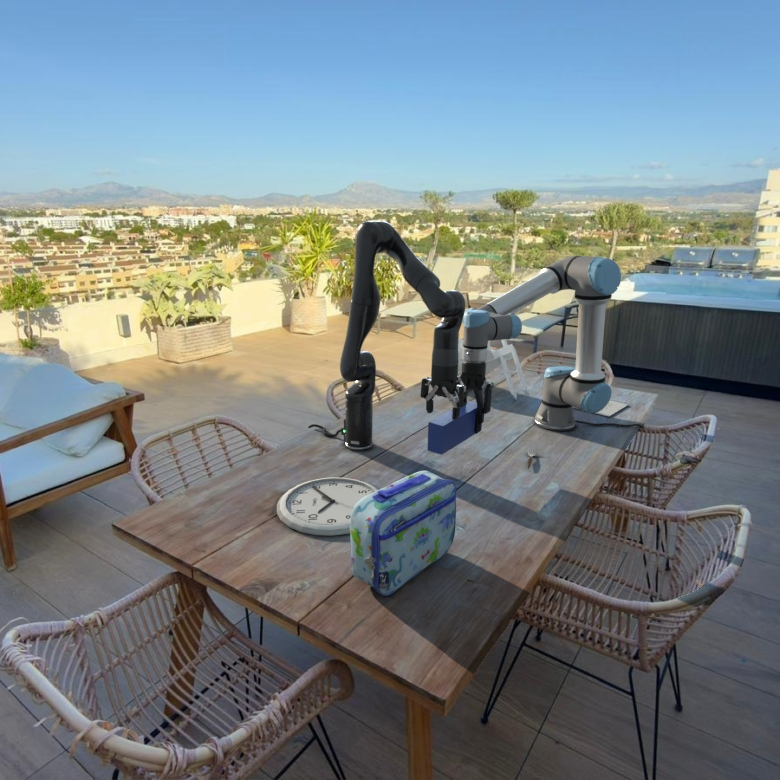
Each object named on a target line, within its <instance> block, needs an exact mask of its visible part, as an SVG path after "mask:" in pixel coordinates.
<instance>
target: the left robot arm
mask: <svg viewBox="0 0 780 780" xmlns="http://www.w3.org/2000/svg"><path fill="white" fill-rule="evenodd" d="M354 245H355V247H354V270H353V271H354V272H353V281H352V289H351V290H352V291H351V295H350V304H349V311H348V312H349V313H348V320H347V327H346V333H345V339H344V342H343V348H342V352H341V356H340V361H339V371H340V375H341V378H342V379H343V380H344V381H346V382H349V383H351V382H353V383H352V385H351V386H349V387H348V388H347V389H346V390H345V392H344V393H345V394H344V395H345V396H344V397H345V401H344V402H345V417H344V418H343V427H341V428H340V429H338V430H336V432H335V433H328V432H327V429H326V428H325V427H324V426H322V425H320V424H315V423H313V424H309V425H308V426H307V429H311V428H313V427H314V428H319V429H321V430H322V435H323V436H326V437H330V438H333V437H334V438H335V437H337V436H339V434H340V433H341V436H343V445H345V448H347V449H348V450H350V451H356V452H359V451H367V450H370V449H372V447H373V444H374V443H373V417H374V415H373V413H374V409H373V408H374V407H373V406H374V402H373V401H374V399H373V398H374V393H375V389H376V376H377V366H376V365H377V363H376V359H375V357H374V355H373V354H372V353H371V352H370V351H367V350H362V348H363V344H364V342H365V340H366V338H367V337H368V335H369V334H370V332H371V331H372V329H373V328H374V326H375V324H376V322H377V320H378V318H379V314H380V307H381V300H382V299H381V292H380V291H381V290H380V288H379V285H378V283H377V280H376V276H375V262H376V256H377V254H385V255H387V256H389V257H390V258H392V259H393V260H394V261H395V262H396V264H397V265H398V266H399V271H400V273H401V275H402V277H403V279H404V280H405V282H406V283H407V284H408V285H409V286H410V287H411V288H412V289H413V290H414V291H415V292H416V293H417V294H418V295H419V297H421V300H422V302H423V304H424V305H425V306H426V308H427V310H428V311H429V312H430V313H431V314H432V315H434V316H435V317H437V318H439V319H441V321H440V323H439V324H437V326H435V328H434V330H433V339H432V340H433V341H432V351H431V369H430V370H431V371H430V377H431V378H430V377H429V376H427V377H424V378H422V379H421V387H420V398H421V399H424V400H425V410H426V412H427V414H432V413H433V412H434V398H435V397H436V396H437V397H443V398H446V399H447V400H448V401H449V402H451V405H452V410H453V412H452V419H453V420H456V419H457V418H458V417H459V416H460V407H463V406H464V405H466V404H467V402H468V396H467V386H466V385H464V384H463V385H458V384H457V376H458V362H459V360H458V358H459V353H458V340H459V337H460V329H461V327H462V325H463V322H462V320H463V317H464V313H465V311H466V300H465V296H464V295H463V293H462V292H461V291H460V290H455V289H452V290H443V289H441V288H440V287H441V280H440V278H439V277H438V276H437V275H436V274H435V273H434V272H433V271H432V270H431V269H430V268H429V267H428V266H426V265H425V264H424V263H423V262H422V261H421V260H420V259H419V258H418V256H417V255H416V254H415V253H414V252H413V251H412V249H411V248H410V247H409V245H408V244H407V243H406V242H405V240H404V239H403V237H402V236H401V235H400V233H399V232H398V231H397V230H396V229H395V227H394V226H393V225H392V224H391V223H389V222H387V221H384V220H366V221H363V222H361V224H359V226H358V227H357V230H356V235H355V244H354ZM430 386H431V388H432V389H431V390H430ZM456 389H457V390H458V393H459V398H458V395H457V393H456Z"/></svg>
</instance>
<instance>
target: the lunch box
mask: <svg viewBox="0 0 780 780" xmlns="http://www.w3.org/2000/svg"><path fill="white" fill-rule="evenodd" d="M456 519H457V488H456V484H455V482H454V480H452V479H449V478H448V479H447V478H446V479H445V478H442V477H440V476H439V475H437V474H434V473H432V471H428V470H419V471H417V472H414V473H412V474H410V475H407V476H405V477H403V478H400V479H399V480H396V481H394V482H392V483H390V484H388V485H386V486H384V487H382V488H380V489H379V490H378V491H376V492H374V493H372V494H370V495H367V496H365V497H364V498H362V499H360V500H359V501H358V502H357V503H356V505H355V506H354V508H353V510H352V513H351V517H350V533H349V540H350V566H351V573H352V575H353V577H354V578H355V579H357V580H359V581H362V582H363V583H365V584H367V585H368V586H370V587H371V588H373V589H374V590H375V592H376V593H378V594H379V595H381V596H386V597H387V596H390V595H392V594H394V593H395V592H396V591H398V590H399V589H400V588H401V587H402V586H404V585H405V584H407V583H408V582H409V581H411V580H412V579H413V578H415V577H416V576H418V575H419V574H420V573H421V572H423V571H424V570H425V569H426V568H428V566H430V565H432V564H434V563H435V562H437V561H438V560H440V559H441V558H442V557H444V556H445V555H446V554H447V553H448V552H449V550H450V548H451V547H452V545H453V542H454V539H455V535H456V524H457V523H456V522H457V520H456Z"/></svg>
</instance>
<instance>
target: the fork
mask: <svg viewBox="0 0 780 780" xmlns="http://www.w3.org/2000/svg"><path fill="white" fill-rule="evenodd" d="M533 448H535V449H533ZM533 448H531V447H529V448H528V451H527V456H529V459H528V460H527V469H530V467H531V465H532V463H533V460H532V459H533V457H535V456H537V445H536V447H535V445H534V446H533Z"/></svg>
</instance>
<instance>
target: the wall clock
mask: <svg viewBox="0 0 780 780" xmlns="http://www.w3.org/2000/svg"><path fill="white" fill-rule="evenodd" d="M378 490H380V489H379V488H377V487H376V486H374V485H372V484H371V483H369V482H365V481H362V480H359V479H355V478H349V477H338V476H337V477H335V476H333V477H332V476H331V477H322V478H317V479H312V480H307V481H305V482H302V483H299V484H297V485H295V486H293V487H292V488H290V489H288V490H287V491H286V492H285V493H284V494H283V495H281V496H280V498H279V499H278V502H277V503H276V515H277V517H278V518H279V520H280V521H281V522H282V523H283V524H285V525H286V526H287V527H288V528H290V529H293V530H295V531H297V532H299V533H303V534H308V535H312V536H327V537H328V536H329V537H331V536H332V537H333V536H342V535H350V517H351V513H352V510H353V508H354V506H355V505H356V503H357V502H358V501H359V500H360V499H362V498H364V497H365V496H367V495H370V494H372V493H374V492H376V491H378Z"/></svg>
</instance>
